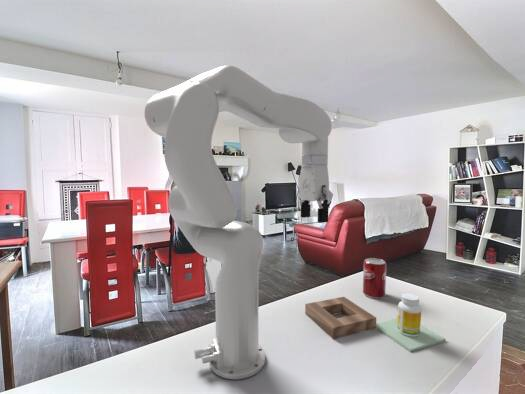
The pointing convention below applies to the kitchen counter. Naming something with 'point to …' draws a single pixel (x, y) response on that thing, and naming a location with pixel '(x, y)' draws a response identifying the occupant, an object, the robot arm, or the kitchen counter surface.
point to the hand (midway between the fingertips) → (313, 219)
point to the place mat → (408, 342)
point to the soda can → (374, 278)
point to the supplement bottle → (409, 315)
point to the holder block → (343, 326)
